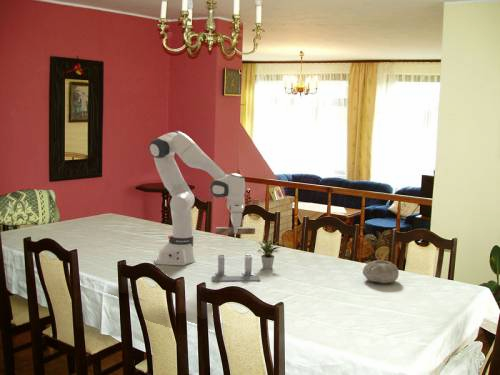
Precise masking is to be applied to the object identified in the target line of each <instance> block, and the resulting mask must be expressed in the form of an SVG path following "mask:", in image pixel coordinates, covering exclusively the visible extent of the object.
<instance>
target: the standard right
mask: <svg viewBox="0 0 500 375" xmlns="http://www.w3.org/2000/svg"><path fill="white" fill-rule="evenodd" d="M252 263H253V257H252V254H251V253H250V254H249V253H247V254H246V253H245V254H244V270H242V276H255V275H254V272H253V270H252V267H253V264H252Z"/></svg>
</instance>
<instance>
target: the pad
mask: <svg viewBox="0 0 500 375" xmlns="http://www.w3.org/2000/svg"><path fill="white" fill-rule="evenodd" d="M211 281H212V283H213V282H214V283H215V282H224V283H225V282H260V281H261V278H260V275H254V276H244V275H226V276H215V275H213V276H211Z"/></svg>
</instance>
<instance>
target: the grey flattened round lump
mask: <svg viewBox="0 0 500 375" xmlns="http://www.w3.org/2000/svg"><path fill="white" fill-rule="evenodd" d="M399 272H400V271H399V269H398V267H397V265H395V263H393V262H391V261H388V260H387V261H385V260H379V259H378V260H373V261H370V262H367V263H366V265H365V266H364V267H363V269H362V274H363V276H364V277H365V278H366V279H367V280H368V281H370V282H373V283H380V284H391V283H394V282H395V281H396V280H397V279H398V278H399V274H400V273H399Z"/></svg>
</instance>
